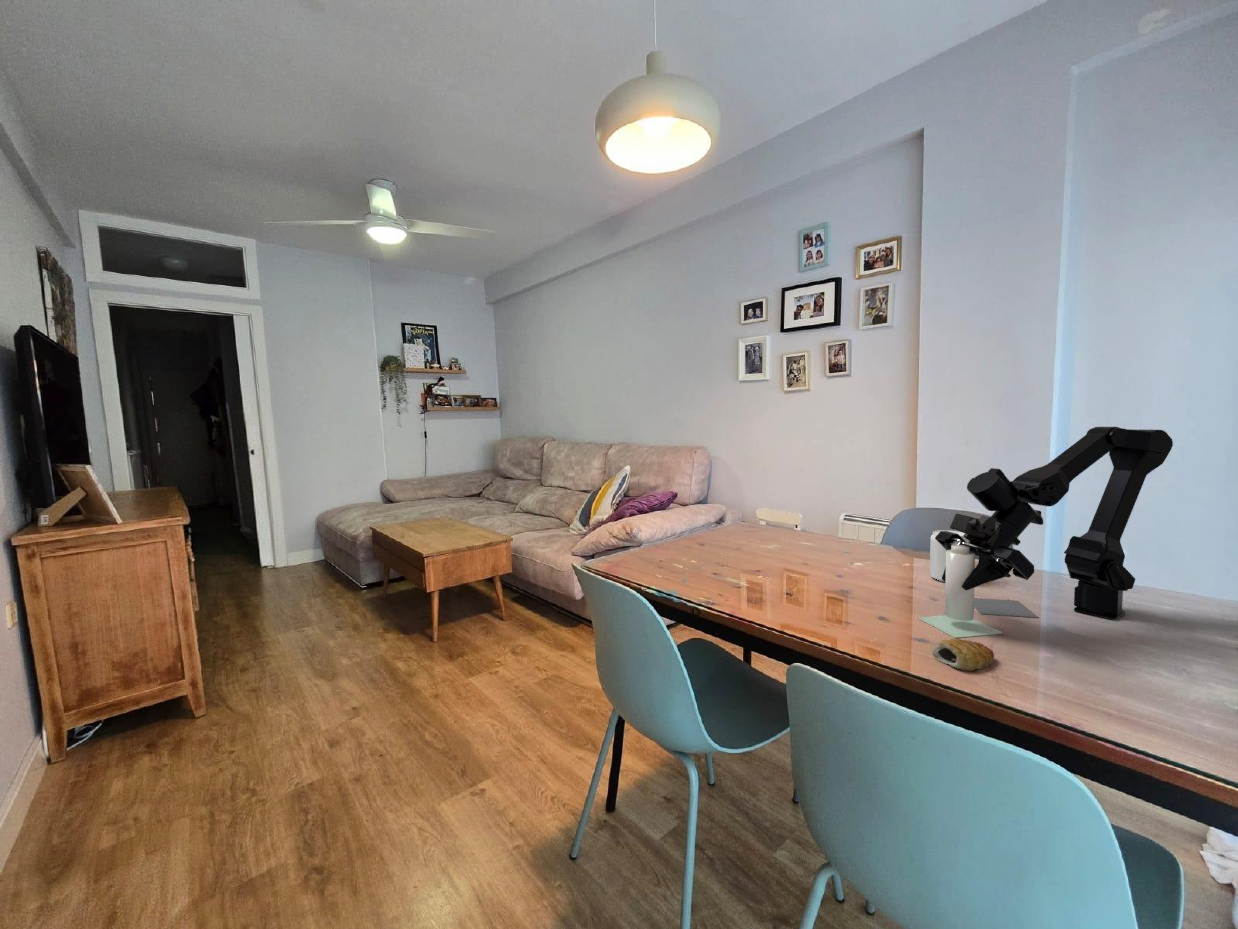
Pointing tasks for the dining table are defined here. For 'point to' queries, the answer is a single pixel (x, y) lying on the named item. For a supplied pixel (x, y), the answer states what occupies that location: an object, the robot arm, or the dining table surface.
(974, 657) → the pastry
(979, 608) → the felt pad
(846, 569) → the dining table surface
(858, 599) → the dining table surface
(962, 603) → the white bottle
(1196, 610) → the dining table surface
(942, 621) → the green tile
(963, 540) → the robot arm
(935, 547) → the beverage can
